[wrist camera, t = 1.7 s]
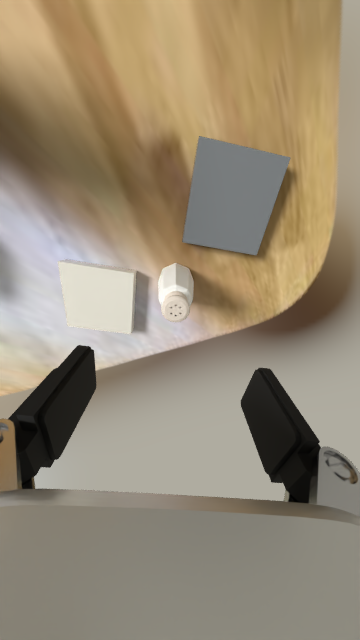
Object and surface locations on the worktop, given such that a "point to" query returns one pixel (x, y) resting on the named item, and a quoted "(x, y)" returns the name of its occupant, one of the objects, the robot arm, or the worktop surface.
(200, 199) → the plate
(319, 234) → the worktop surface
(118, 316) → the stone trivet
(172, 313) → the salt shaker
